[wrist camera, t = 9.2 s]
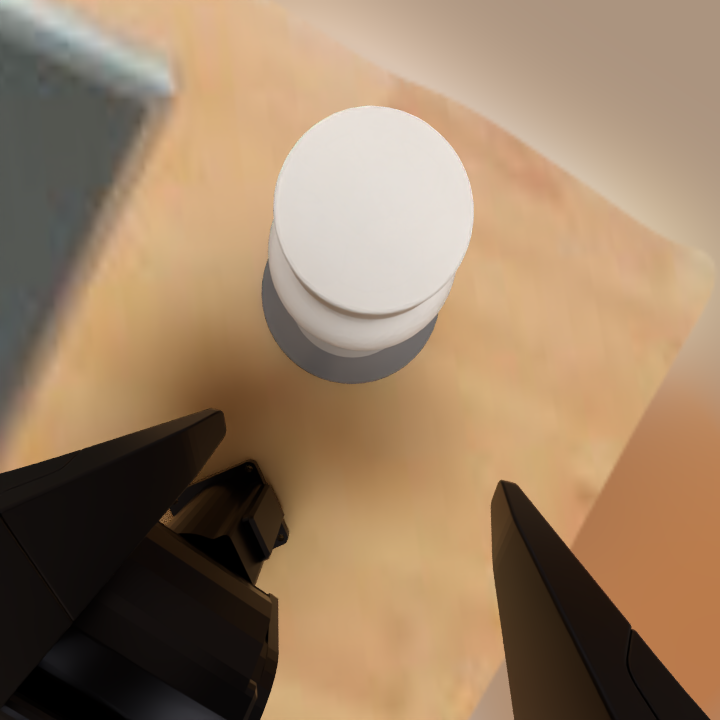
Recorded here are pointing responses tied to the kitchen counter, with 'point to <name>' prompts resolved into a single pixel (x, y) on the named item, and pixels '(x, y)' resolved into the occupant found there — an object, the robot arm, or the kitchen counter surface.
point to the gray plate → (330, 358)
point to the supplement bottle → (369, 227)
